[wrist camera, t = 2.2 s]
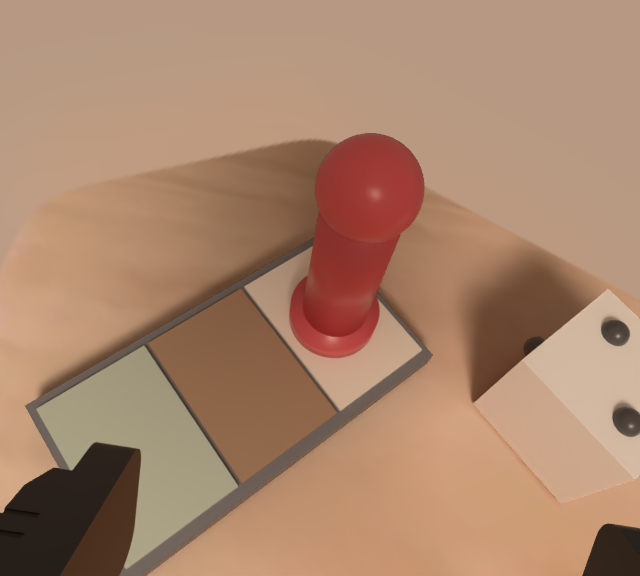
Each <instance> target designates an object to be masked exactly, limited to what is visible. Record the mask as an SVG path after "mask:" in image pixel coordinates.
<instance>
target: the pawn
mask: <svg viewBox="0 0 640 576" xmlns="http://www.w3.org/2000/svg"><path fill="white" fill-rule="evenodd" d="M315 195H316V201H317V205H318V208H319V215H318V220H317V226H316V232H315V237H314V243H313V248H312V254H311V260H310V265H309V271H308V275H307V276H306V277H304V278H303V279H302V280H301V281H300V282H299V283H298V285H297V286H296V288H295V289H294V292H293V294H292V298H291V303H290V310H289V322H290V327H291V330H292V332H293V334H294V336H295V338H296V339H297V340H298V342H299V343H300V344H301V345H302V346H303V347H305V348H306V349H307V350H309V351H310V352H312V353H314V354H316V355H319V356H322V357H327V358H342V357H347V356H350V355H352V354H355V353H356V352H358V351H360V350H361V349H362V348H363V347H364V346H365V345H366V344H367V343H368V342H369V340H370V339H371V337H372V334H373V332H374V330H375V328H376V326H377V323H378V320H379V314H380V308H379V302H378V299H377V296H376V293H377V291H378V288H379V286H380V283H381V281H382V278H383V276H384V274H385V271H386V269H387V266H388V264H389V261H390V259H391V256H392V254H393V252H394V249H395V247H396V244H397V242H398V239H399V237H400V234H401V233H402V232H403V231H405V230H406V229H407V228H408V227H409V226H410V225H411V223H412V222H413V221H414V220H415V218H416V216H417V215H418V213H419V211H420V208H421V205H422V202H423V197H424V178H423V173H422V170H421V167H420V165H419V163H418V161H417V159H416V158H415V157H414V155H413V154H412V153H411V151H410V150H409V149H408V148H407V147H405V145H403V144H402V143H401V142H399V141H397V140H395V139H394V138H391V137H389V136H386V135H381V134H376V133H368V134H367V133H366V134H360V135H356V136H352V137H350V138H348V139H346V140H344V141H342V142H340V143H339V144H338V145H336V146H335V147H334V148H333V149H332V150H331V151H330V152H329V153H328V154H327V156H326V157H325V158H324V160H323V162H322V164H321V166H320V168H319V170H318V174H317V178H316V184H315Z"/></svg>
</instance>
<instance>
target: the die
mask: <svg viewBox="0 0 640 576" xmlns="http://www.w3.org/2000/svg"><path fill="white" fill-rule="evenodd" d="M524 353H525V355H526V357H525V358H524V359H522V360H521V361H520V362H519V363H518V364H517V365H516V366H514V367H513V368H512V369H511V370H510V371H509V372H508V373H507V374H506V375H504V376H503V377H502V378H501V379H500V380H499V381H498V382H497V383H495V384H494V385H493V386H492V387H491V388H490V389H489V390H488V391H487V392H485V393H484V394H483V395H482V396H481V397H480V398H479V399H478V400H476V401H475V402H474V403H473V404H474V405H475V407H476V408H477V409H478V410H479V411H480V412H481V413H482V415H483V416H484V417H485V418H486V419H487V420H488V421H489V423H490V424H491V425H492V426H493V427H494V428H495V429H496V431H497V432H498V433H499V434H500V435H501V436H502V437H503V438H504V440H505V441H506V442H507V443H508V444H509V445H510V446H511V448H512V449H513V450H514V451H515V452H516V453H517V454H518V456H519V457H520V458H521V459H522V460H523V461H524V462H525V464H526V465H527V466H528V467H529V468H530V469H531V470H532V471H533V473H534V474H535V475H536V476H537V477H538V478H539V479H540V481H541V482H542V483H543V484H544V485H545V486H546V487H547V489H548V490H549V491H550V492H551V493H552V494H553V495H554V497H555V498H556V499H557V500H558V501H559V502H560V503H564V502H568V501H571V500H574V499H577V498H580V497H583V496H586V495H589V494H593V493H596V492H599V491H602V490H605V489H608V488H611V487H615V486H618V485H621V484H624V483H627V482H630V481H633V480H636V479H637V477H638V476H639V475H640V318H639V317H638V316H637V315H636V314H634V313H633V312H632V311H631V310H630V309H629V308H628V307H627V306H626V305H625V304H624V303H623V302H622V301H621V300H620V299H618V298H617V297H616V296H615V295H614V294H613V293H612V292H611V291H610V290H609V289H607V290H606V291H605V292H604V293H603V294H601V295H600V296H599V297H598V298H596V299H595V300H594V301H593V302H592V303H590V304H589V305H588V306H587V307H586V308H584V309H583V310H582V311H581V312H579V313H578V314H577V315H576V316H575V317H573V318H572V319H571V320H570V321H569V322H567V323H566V324H565V325H564V326H562V327H561V328H560V329H559V330H558V331H556V332H555V333H554V334H553V335H552V336H550V337H549V338H548V339H547V340H545V339H543V338H540V337H533V338H530V339H529V340H527V341H526V343H525V345H524Z"/></svg>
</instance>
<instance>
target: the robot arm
mask: <svg viewBox="0 0 640 576" xmlns="http://www.w3.org/2000/svg"><path fill="white" fill-rule="evenodd" d="M140 467H141V451H140V449H137V448H131V447H125V446H118V445H112V444H106V443H99V442H95V443H93V444H92V445H91V446H90V447H89V449H88V450H87V451H86V453H85V454H84V455H83V457H82V458H81V459H80V461H79V462H78V463H77V465H76V466H75V467H74V469H73V470H66V469H60V468H52V469H51V470H49V471H47V472H46V473H44V474H42V475H40V476H39V477H37V478H35V479H34V480H32V481H30V482H29V483H27V484H25V485H24V486H23V487H22V488H21V490H20V491H19V492H18V493H17V494H16V495H15V497H14V498H13V499H12V500H11V501H10V502H9V504H8V505H7V506H6V507H5V510H4V512H3V513H0V576H120V573H121V571H122V569H123V567H124V565H125V562H126V559H127V556H128V553H129V550H130V546H131V543H132V538H133V533H134V527H135V518H136V508H137V497H138V487H139V477H140ZM582 576H640V528H634V527H628V526H622V525H615V524H605V525H603V526H602V527H601V528H600V530H599V531H598V534H597V536H596V539H595V542H594V545H593V547H592V550H591V553H590V556H589V559H588V561H587V564H586V567H585V570H584V573H583V575H582Z"/></svg>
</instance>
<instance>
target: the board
mask: <svg viewBox="0 0 640 576" xmlns="http://www.w3.org/2000/svg"><path fill="white" fill-rule="evenodd" d="M313 243H314V238H312V239H311V240H309V241H307V242H305V243H304V244H302V245H300V246H299V247H297V248H295V249H293V250H292V251H290V252H288V253H287V254H285V255H283V256H281V257H280V258H278V259H276V260H275V261H273V262H271V263H269V264H268V265H266V266H264V267H263V268H261V269H259V270H257V271H256V272H254V273H252V274H251V275H249V276H247V277H245V278H244V279H242V280H240V281H238V282H237V283H235V284H233V285H232V286H230V287H228V288H226V289H225V290H223V291H221V292H220V293H218V294H216V295H214V296H213V297H211V298H209V299H208V300H206V301H204V302H202V303H201V304H199V305H197V306H196V307H194V308H192V309H190V310H189V311H187V312H185V313H184V314H182V315H180V316H178V317H177V318H175V319H173V320H172V321H170V322H168V323H166V324H165V325H163V326H161V327H159V328H158V329H156V330H154V331H153V332H151V333H149V334H147V335H146V336H144V337H142V338H141V339H139V340H137V341H135V342H134V343H132V344H130V345H129V346H127V347H125V348H123V349H122V350H120V351H118V352H117V353H115V354H113V355H111V356H110V357H108V358H106V359H105V360H103V361H101V362H99V363H98V364H96V365H94V366H92V367H91V368H89V369H87V370H86V371H84V372H82V373H80V374H79V375H77V376H75V377H74V378H72V379H70V380H68V381H67V382H65V383H63V384H62V385H60V386H58V387H56V388H55V389H53V390H51V391H50V392H48V393H46V394H44V395H43V396H41V397H39V398H38V399H36V400H34V401H32V402H31V403H29V404H27V405H26V406H25V407H26V409H27V410H28V412H29V414H30V416H31V418H32V419H33V421H34V423H35V425H36V427H37V429H38V430H39V432H40V434H41V436H42V438H43V439H44V441H45V443H46V445H47V447H48V448H49V450H50V452H51V454H52V456H53V457H54V459H55V461H56V463H57V465H58V467H59V468H60V469H66V470H73V469H74V467H75V466H76V465H77V463H78V462H79V461H80V459H81V458H82V457H83V455H84V454H85V453H86V451H87V450H88V449H89V447H90V446H91V445H92V444H93V443H95V442H99V443H106V444H112V445H118V446H125V447H131V448H137V449H140V451H141V467H140V477H139V487H138V497H137V508H136V518H135V527H134V533H133V538H132V543H131V546H130V550H129V553H128V556H127V559H126V562H125V565H124V567H123V569H122V571H121V573H120V576H146V575H148V574H149V573H150V572H152V571H153V570H154V569H155V568H157V567H158V566H159V565H161V564H162V563H163V562H165V561H166V560H167V559H169V558H170V557H171V556H173V555H174V554H175V553H177V552H178V551H179V550H181V549H182V548H183V547H185V546H186V545H187V544H189V543H190V542H191V541H193V540H194V539H195V538H197V537H198V536H199V535H200V534H202V533H203V532H204V531H206V530H207V529H208V528H210V527H211V526H212V525H214V524H215V523H216V522H218V521H219V520H220V519H222V518H223V517H224V516H226V515H227V514H228V513H230V512H231V511H232V510H234V509H235V508H236V507H238V506H239V505H240V504H242V503H243V502H244V501H245V500H247V499H248V498H249V497H251V496H252V495H253V494H255V493H256V492H257V491H259V490H260V489H261V488H263V487H264V486H265V485H267V484H268V483H269V482H271V481H272V480H273V479H275V478H276V477H277V476H279V475H280V474H281V473H283V472H284V471H285V470H287V469H288V468H289V467H290V466H292V465H293V464H294V463H296V462H297V461H298V460H300V459H301V458H302V457H304V456H305V455H306V454H308V453H309V452H310V451H312V450H313V449H314V448H316V447H317V446H318V445H320V444H321V443H322V442H324V441H325V440H326V439H328V438H329V437H330V436H331V435H333V434H334V433H335V432H337V431H338V430H339V429H341V428H342V427H343V426H345V425H346V424H347V423H349V422H350V421H351V420H353V419H354V418H355V417H357V416H358V415H359V414H361V413H362V412H363V411H365V410H366V409H367V408H369V407H370V406H371V405H373V404H374V403H375V402H376V401H378V400H379V399H380V398H382V397H383V396H384V395H386V394H387V393H388V392H390V391H391V390H392V389H394V388H395V387H396V386H398V385H399V384H400V383H402V382H403V381H404V380H406V379H407V378H408V377H410V376H411V375H412V374H414V373H415V372H416V371H418V370H419V369H420V368H421V367H423V366H424V365H425V364H427V362H428V361H429V360H430V358H431V357H432V356H433V355H432V354H431V352H430V351H429V350H428V349H427V348H426V347H425V346H424V344H423V343H422V342H421V341H420V340H419V339H418V338H417V336H416V335H415V334H414V333H413V332H412V331H411V330H410V329H409V327H408V326H407V325H406V324H405V323H404V322H403V321H402V319H401V318H400V317H399V316H398V315H397V314H396V313H395V311H394V310H393V309H392V308H391V307H390V306H389V305H388V304H387V302H386V301H385V300H384V299H383V298H382V297H381V296H380V294H379V293H378V292H377V293H376V296H377V299H378V302H379V308H380V314H379V320H378V323H377V326H376V328H375V330H374V332H373V334H372V337H371V339H370V340H369V342H368V343H367V344H366V345H365V346H364V347H363V348H362V349H361V350H360V351H358V352H356V353H355V354H352V355H350V356H347V357H342V358H327V357H322V356H319V355H316V354H314V353H312V352H310V351H309V350H307V349H306V348H305V347H303V346H302V345H301V344H300V343H299V342H298V340H297V339H296V338H295V336H294V334H293V332H292V330H291V327H290V322H289V310H290V303H291V298H292V294H293V292H294V289H295V288H296V286H297V285H298V283H299V282H300V281H301V280H302V279H303V278H304V277H306V276H307V275H308V271H309V265H310V260H311V254H312V248H313Z"/></svg>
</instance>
